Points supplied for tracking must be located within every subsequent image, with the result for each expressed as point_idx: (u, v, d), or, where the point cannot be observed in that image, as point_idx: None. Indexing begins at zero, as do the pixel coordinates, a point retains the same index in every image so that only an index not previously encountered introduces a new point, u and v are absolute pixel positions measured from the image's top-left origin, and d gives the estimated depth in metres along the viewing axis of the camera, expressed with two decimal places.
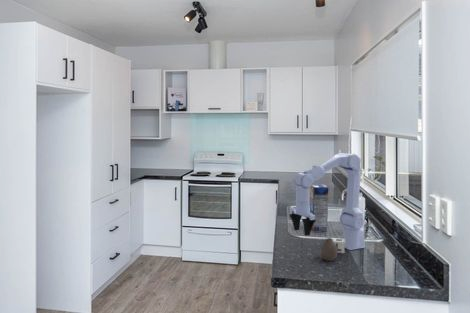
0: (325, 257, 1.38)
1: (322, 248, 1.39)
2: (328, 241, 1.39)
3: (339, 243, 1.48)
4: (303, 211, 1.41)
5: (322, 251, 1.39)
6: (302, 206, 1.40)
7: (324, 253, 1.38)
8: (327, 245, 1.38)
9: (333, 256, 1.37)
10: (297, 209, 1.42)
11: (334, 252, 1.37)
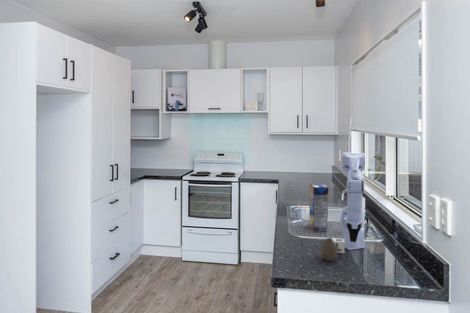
0: (325, 257, 1.38)
1: (322, 248, 1.39)
2: (328, 241, 1.39)
3: (339, 243, 1.48)
4: (350, 219, 1.34)
5: (322, 251, 1.39)
6: (350, 213, 1.35)
7: (324, 253, 1.38)
8: (327, 245, 1.38)
9: (333, 256, 1.37)
10: (346, 216, 1.37)
11: (334, 252, 1.37)
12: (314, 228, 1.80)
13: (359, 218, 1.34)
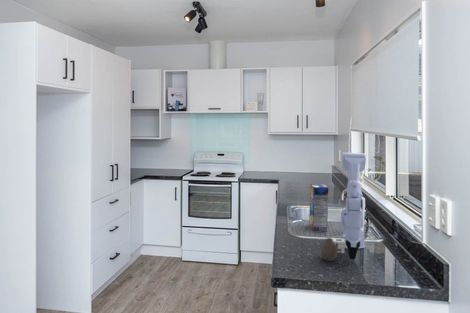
0: (325, 257, 1.38)
1: (322, 248, 1.39)
2: (328, 241, 1.39)
3: (339, 243, 1.48)
4: (349, 236, 1.35)
5: (322, 251, 1.39)
6: (349, 231, 1.35)
7: (324, 253, 1.38)
8: (327, 245, 1.38)
9: (333, 256, 1.37)
10: (346, 233, 1.38)
11: (334, 252, 1.37)
12: (314, 228, 1.80)
13: (358, 236, 1.35)
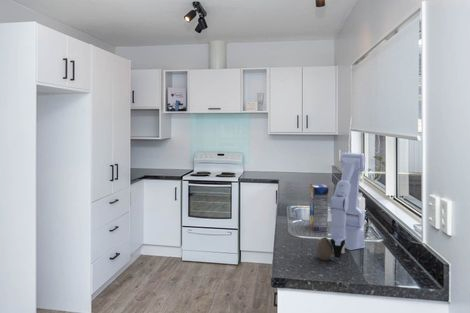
0: (321, 256, 1.39)
1: (318, 247, 1.40)
2: (324, 240, 1.39)
3: None
4: (334, 235, 1.37)
5: (318, 250, 1.39)
6: (333, 229, 1.37)
7: (320, 252, 1.39)
8: (323, 244, 1.39)
9: (328, 255, 1.38)
10: (331, 232, 1.39)
11: (329, 251, 1.38)
12: (314, 228, 1.80)
13: (343, 234, 1.36)
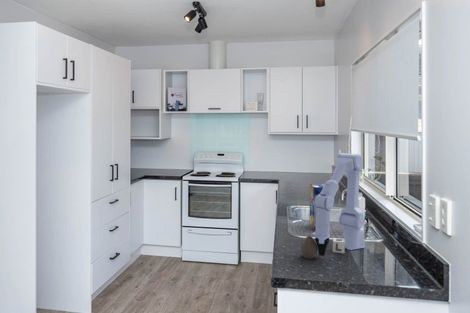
0: (306, 255, 1.40)
1: (303, 246, 1.41)
2: (308, 239, 1.41)
3: (339, 243, 1.48)
4: (318, 233, 1.39)
5: (303, 249, 1.41)
6: (318, 228, 1.39)
7: (305, 251, 1.40)
8: (308, 243, 1.40)
9: (313, 254, 1.40)
10: None
11: (314, 250, 1.40)
12: (314, 228, 1.80)
13: (327, 233, 1.38)
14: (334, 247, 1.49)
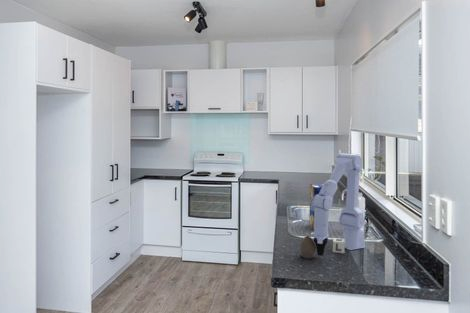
0: (304, 255, 1.41)
1: (301, 246, 1.41)
2: (307, 239, 1.41)
3: (339, 243, 1.48)
4: (317, 233, 1.39)
5: (301, 249, 1.41)
6: (316, 228, 1.39)
7: (303, 251, 1.40)
8: (306, 243, 1.40)
9: (312, 254, 1.40)
10: (314, 230, 1.41)
11: (313, 250, 1.40)
12: None
13: (325, 233, 1.38)
14: (334, 247, 1.49)
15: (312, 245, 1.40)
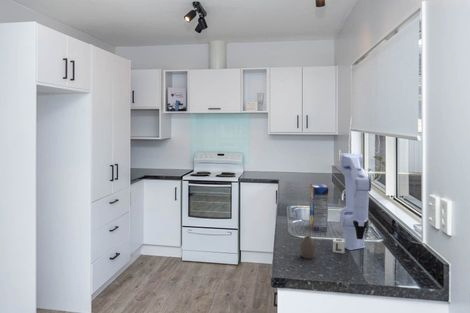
0: (304, 255, 1.41)
1: (301, 246, 1.41)
2: (307, 239, 1.41)
3: (339, 243, 1.48)
4: (357, 216, 1.36)
5: (301, 249, 1.41)
6: (356, 211, 1.36)
7: (303, 251, 1.40)
8: (306, 243, 1.40)
9: (312, 254, 1.40)
10: (353, 213, 1.38)
11: (313, 250, 1.40)
12: (314, 228, 1.80)
13: (366, 216, 1.35)
14: (334, 247, 1.49)
15: (312, 245, 1.40)
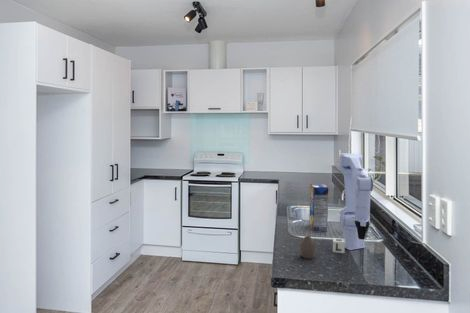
0: (304, 255, 1.41)
1: (301, 246, 1.41)
2: (307, 239, 1.41)
3: (339, 243, 1.48)
4: (359, 216, 1.36)
5: (301, 249, 1.41)
6: (358, 211, 1.36)
7: (303, 251, 1.40)
8: (306, 243, 1.40)
9: (312, 254, 1.40)
10: (355, 213, 1.38)
11: (313, 250, 1.40)
12: (314, 228, 1.80)
13: (367, 216, 1.35)
14: (334, 247, 1.49)
15: (312, 245, 1.40)
